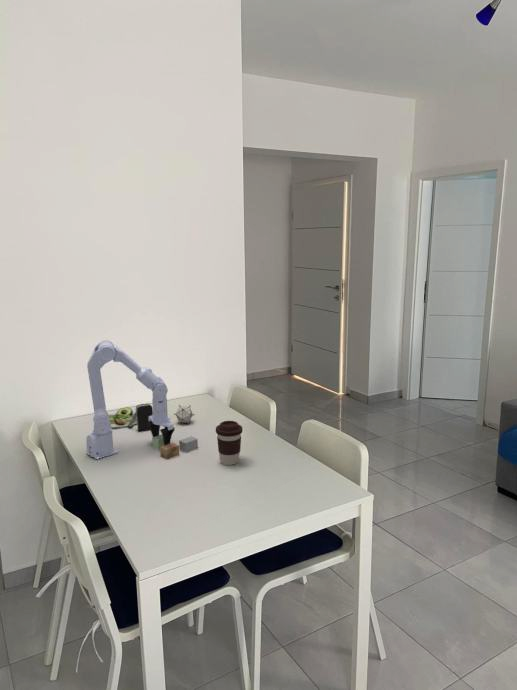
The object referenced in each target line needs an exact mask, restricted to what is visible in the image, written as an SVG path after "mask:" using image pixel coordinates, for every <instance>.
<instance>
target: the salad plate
mask: <svg viewBox="0 0 517 690" xmlns="http://www.w3.org/2000/svg"><path fill="white" fill-rule="evenodd" d="M109 416H110V423H111V428H112V429H124V428H130V427H132V426H133V427H134V426H135V425H137V417H136V411H135V412H134V411H133V409H132V408H131V407H127V406H126V407H121V408H120V409H117V412H115V413H110V414H109ZM112 424H116V425H112Z"/></svg>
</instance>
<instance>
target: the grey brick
mask: <svg viewBox="0 0 517 690" xmlns="http://www.w3.org/2000/svg"><path fill="white" fill-rule="evenodd" d="M178 443H179V444H178V445H179V451H182V452H184V453H188V452H190V450H191V451H193V449H194V450H196V448H197V449H198V448H199V445H198V438H196V437H194V436H192V435H191V436H189V437H185V438H182V439H180V440H179V442H178Z"/></svg>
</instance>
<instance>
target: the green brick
mask: <svg viewBox="0 0 517 690" xmlns="http://www.w3.org/2000/svg"><path fill="white" fill-rule="evenodd" d="M151 442H152V444H151V445H152V447H153V448H154V447H155V448H154V449H156V448H157V449H156V450H160V447H161V446H164V440H163V435H162V433H161V434H159V435H158V436H155V437H153V436H152V440H151ZM170 443H172V441H171V440H170Z"/></svg>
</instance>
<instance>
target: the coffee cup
mask: <svg viewBox="0 0 517 690" xmlns="http://www.w3.org/2000/svg"><path fill="white" fill-rule="evenodd" d="M242 433H243V426H242V425H241V424H239V423H238V421H235V420H225V421H221V422H220V423H219V424H218V425H216V427H215V434H217V438H216V439H217V451H218V454H219V461H220V463H221V464H223V465H227V466H232V465H236V464H238V462H239V461H240V452H241V448H242V447H241V445H242V435H241V434H242Z"/></svg>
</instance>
